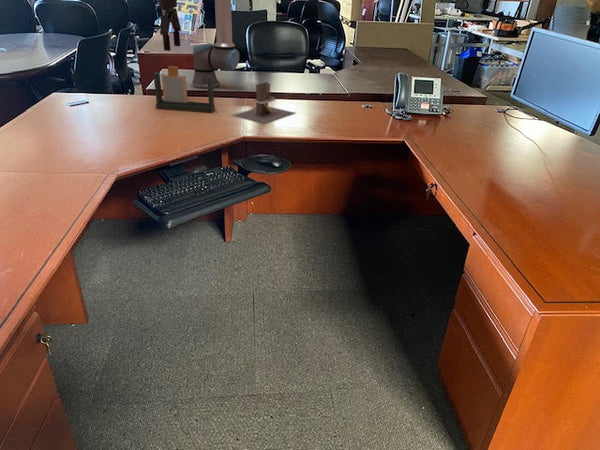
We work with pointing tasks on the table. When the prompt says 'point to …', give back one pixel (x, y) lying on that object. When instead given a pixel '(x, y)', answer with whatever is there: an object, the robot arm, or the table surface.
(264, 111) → the architectural model
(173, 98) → the window sash
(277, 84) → the table surface
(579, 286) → the table surface
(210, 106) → the window frame
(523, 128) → the table surface
